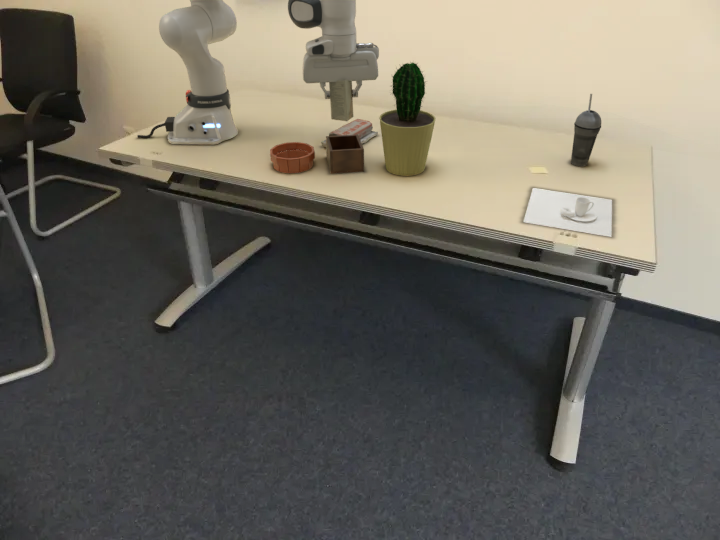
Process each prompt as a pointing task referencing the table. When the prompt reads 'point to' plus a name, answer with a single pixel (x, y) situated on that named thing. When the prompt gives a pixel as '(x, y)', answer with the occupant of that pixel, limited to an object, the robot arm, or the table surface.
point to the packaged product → (355, 130)
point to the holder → (345, 154)
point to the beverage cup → (585, 135)
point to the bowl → (292, 157)
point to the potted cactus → (407, 124)
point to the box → (341, 100)
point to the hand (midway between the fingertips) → (341, 97)
